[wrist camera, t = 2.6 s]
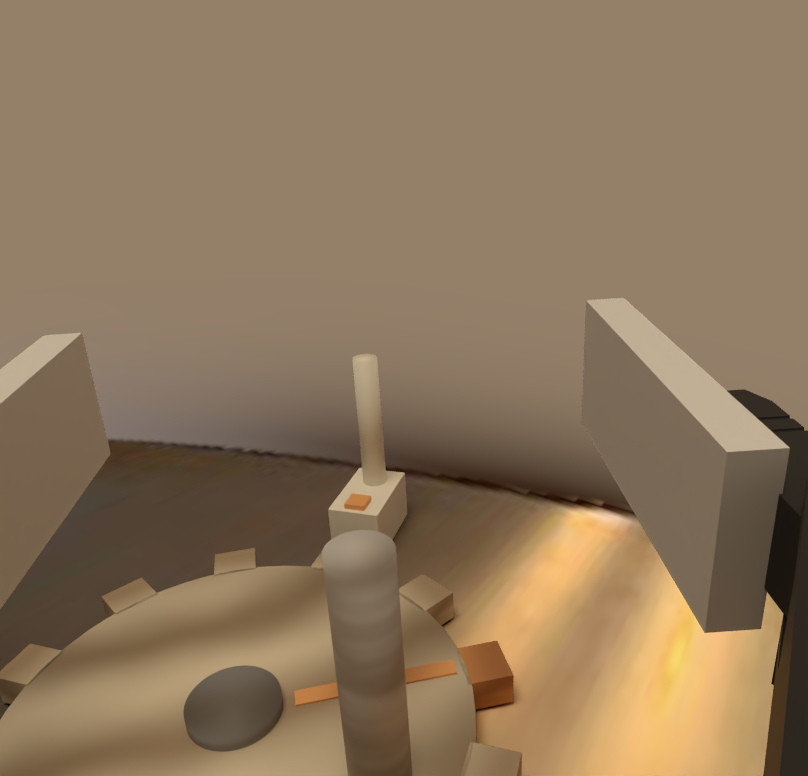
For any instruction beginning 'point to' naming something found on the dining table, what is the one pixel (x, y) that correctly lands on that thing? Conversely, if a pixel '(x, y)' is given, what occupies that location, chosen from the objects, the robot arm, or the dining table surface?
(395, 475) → the index post
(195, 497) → the dining table surface
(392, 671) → the sprocket
